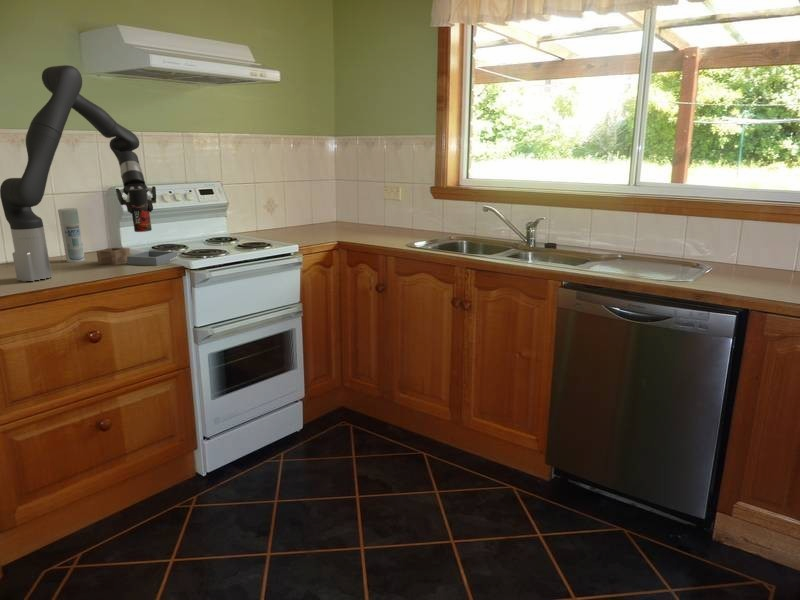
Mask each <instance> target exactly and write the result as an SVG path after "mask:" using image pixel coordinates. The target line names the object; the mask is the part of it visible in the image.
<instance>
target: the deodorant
mask: <svg viewBox="0 0 800 600" xmlns="http://www.w3.org/2000/svg"><path fill="white" fill-rule="evenodd" d="M128 191H129V197H130V203H131V207H132V214H131V215H132V216H131V217H132V222H133V230H134V232H135V233H145V232H152V230H153V228H152V221H151V214H150V212H149V207H148V199H147V194H148V192H146V189H130V190H128Z"/></svg>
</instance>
